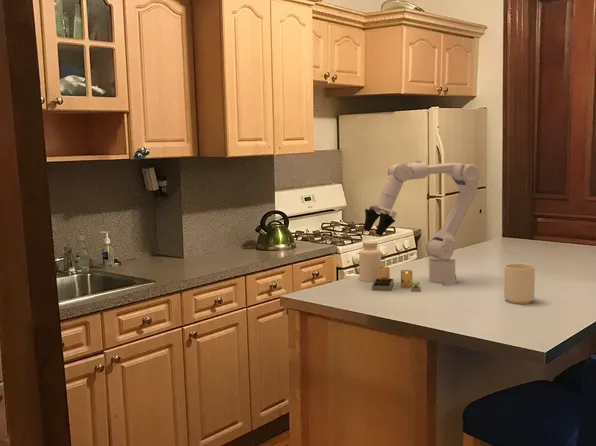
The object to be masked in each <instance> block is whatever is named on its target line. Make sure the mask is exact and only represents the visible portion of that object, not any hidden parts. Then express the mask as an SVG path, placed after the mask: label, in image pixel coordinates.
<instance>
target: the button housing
mask: <svg viewBox="0 0 596 446" xmlns="http://www.w3.org/2000/svg"><path fill="white" fill-rule="evenodd" d="M421 288H422V287H421V286H418V288H414V286H412V287H411V289H410V292H411V293H415V292H416V293H421V290H422V289H421Z"/></svg>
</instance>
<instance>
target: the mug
mask: <svg viewBox="0 0 596 446" xmlns="http://www.w3.org/2000/svg"><path fill="white" fill-rule="evenodd" d="M535 269H536V267H535V265H532V264H527V263H508V264H505V265H504V285H503V286H504V289H503V290H504V294H503V295H504V299H505V300H506V302H508V303H511V304H516V305H517V304H519V305H521V304H522V305H523V304H525V305H526V304H527V305H528V304H530V303H532V302H533V301H534V299H535V279H536V278H535V276H536V275H535V273H536V272H535Z"/></svg>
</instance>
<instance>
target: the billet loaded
mask: <svg viewBox="0 0 596 446" xmlns="http://www.w3.org/2000/svg"><path fill="white" fill-rule="evenodd" d="M390 274H391V273H390V267H388V266H381V267H378V282H390V279H391V278H390V277H391V276H390Z"/></svg>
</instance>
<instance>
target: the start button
mask: <svg viewBox="0 0 596 446" xmlns="http://www.w3.org/2000/svg"><path fill="white" fill-rule="evenodd" d="M418 285H419V286H420V281H412V286H413V287H414V288H418V287H419V286H418Z"/></svg>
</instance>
